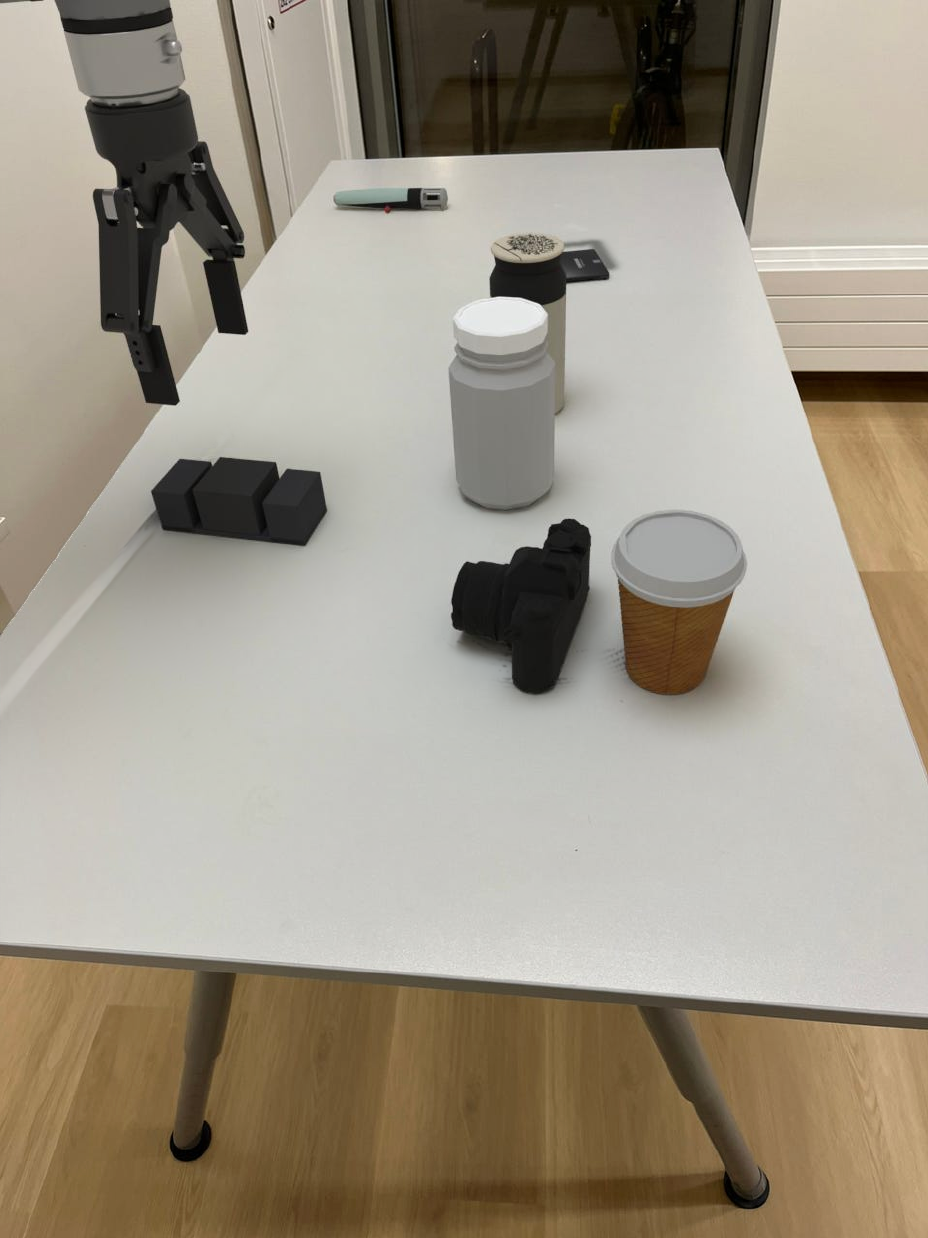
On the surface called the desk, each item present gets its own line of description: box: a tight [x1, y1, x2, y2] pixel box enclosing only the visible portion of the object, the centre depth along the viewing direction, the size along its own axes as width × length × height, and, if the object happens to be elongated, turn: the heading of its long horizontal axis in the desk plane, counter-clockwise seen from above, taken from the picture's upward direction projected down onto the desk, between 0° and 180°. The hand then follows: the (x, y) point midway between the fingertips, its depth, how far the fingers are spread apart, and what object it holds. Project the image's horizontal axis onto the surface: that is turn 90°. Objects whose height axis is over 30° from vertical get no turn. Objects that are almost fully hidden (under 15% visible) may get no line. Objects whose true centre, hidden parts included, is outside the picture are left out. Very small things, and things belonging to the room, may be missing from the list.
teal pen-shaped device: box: [333, 187, 449, 214], centre depth 162 cm, size 3×4×20 cm
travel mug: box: [489, 232, 567, 414], centre depth 102 cm, size 8×8×18 cm
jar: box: [448, 297, 556, 511], centre depth 90 cm, size 10×10×18 cm
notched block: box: [150, 458, 328, 547], centre depth 92 cm, size 15×6×4 cm, turn 76°
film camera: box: [450, 518, 592, 695], centre depth 76 cm, size 15×10×9 cm, turn 161°
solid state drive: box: [560, 248, 610, 283], centre depth 138 cm, size 7×10×1 cm
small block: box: [193, 456, 280, 535], centre depth 92 cm, size 6×6×4 cm
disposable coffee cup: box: [610, 509, 748, 695], centre depth 71 cm, size 10×10×12 cm
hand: (200, 365), depth 83 cm, fingers open, 13 cm apart
